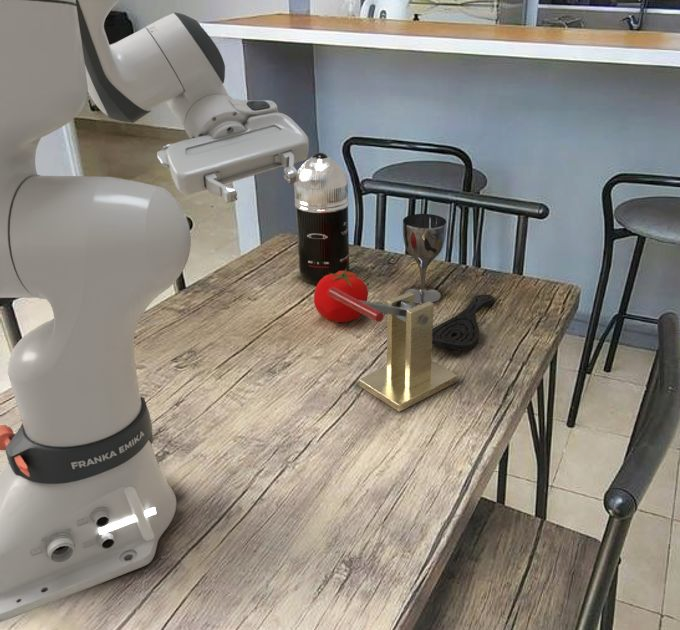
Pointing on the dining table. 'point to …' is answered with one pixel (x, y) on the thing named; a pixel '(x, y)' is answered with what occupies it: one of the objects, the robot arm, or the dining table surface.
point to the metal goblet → (424, 248)
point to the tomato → (333, 307)
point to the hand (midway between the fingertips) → (263, 188)
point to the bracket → (408, 359)
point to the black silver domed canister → (321, 218)
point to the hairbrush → (461, 326)
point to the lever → (371, 306)
